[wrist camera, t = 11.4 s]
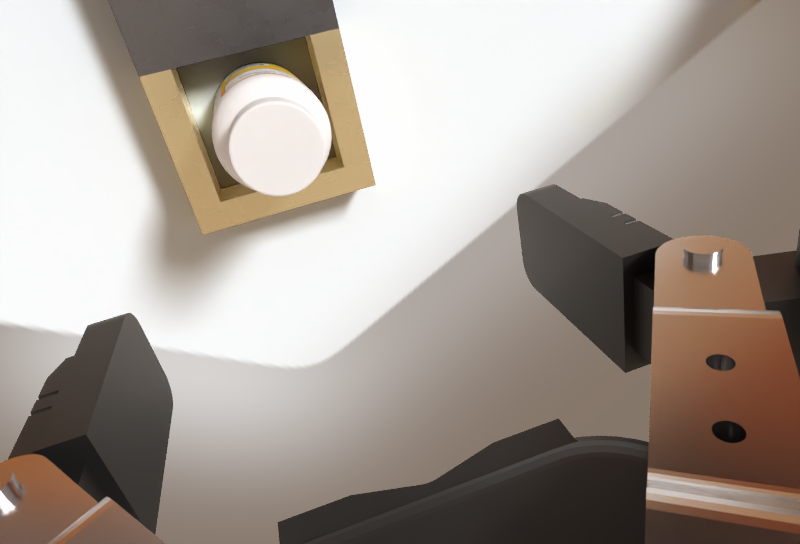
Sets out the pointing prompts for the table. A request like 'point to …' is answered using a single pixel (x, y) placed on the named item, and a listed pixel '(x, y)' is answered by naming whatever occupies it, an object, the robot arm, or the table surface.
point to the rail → (224, 35)
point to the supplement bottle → (270, 129)
